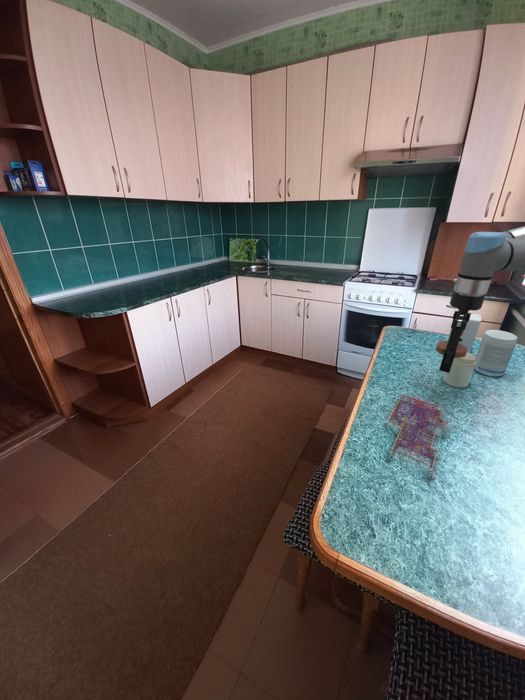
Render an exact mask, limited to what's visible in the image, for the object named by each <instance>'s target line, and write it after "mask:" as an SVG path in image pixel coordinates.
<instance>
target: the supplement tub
mask: <svg viewBox="0 0 525 700" xmlns="http://www.w3.org/2000/svg"><path fill="white" fill-rule="evenodd" d="M517 341H518V336H517V335H516V334H513V333H512V332H508V331H505V330H500V329H488V330H485V331H484V333H483V335H482V337H481V341H480V343H479V346H478V350H477V352H476V355H475V356H476V365H475V368H474V371H476V372H477V373H480V374H482V375H484V376H488V377H502V376H503V375H505V373H506V370H507V367H508V366H509V363H510V361H511V358H512V355H513V353H514V350H515V349H516V348H515V347H516V345H517Z"/></svg>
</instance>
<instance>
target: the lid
mask: <svg viewBox="0 0 525 700" xmlns="http://www.w3.org/2000/svg"><path fill="white" fill-rule="evenodd" d="M447 344H448V341H447V340H441V341H438V342H437V343H436V346H435V351H436V353H438V354H440V355H441V356H443V355H444V352H443V351H442V350H443V349H444V350H445V349H446V347H447ZM467 350H468V349H467V347H465V346H464V345H462V344H459V343H458V346H457V349H456V354H455V357H454V358H462V357H465V356H466V353H467Z"/></svg>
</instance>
